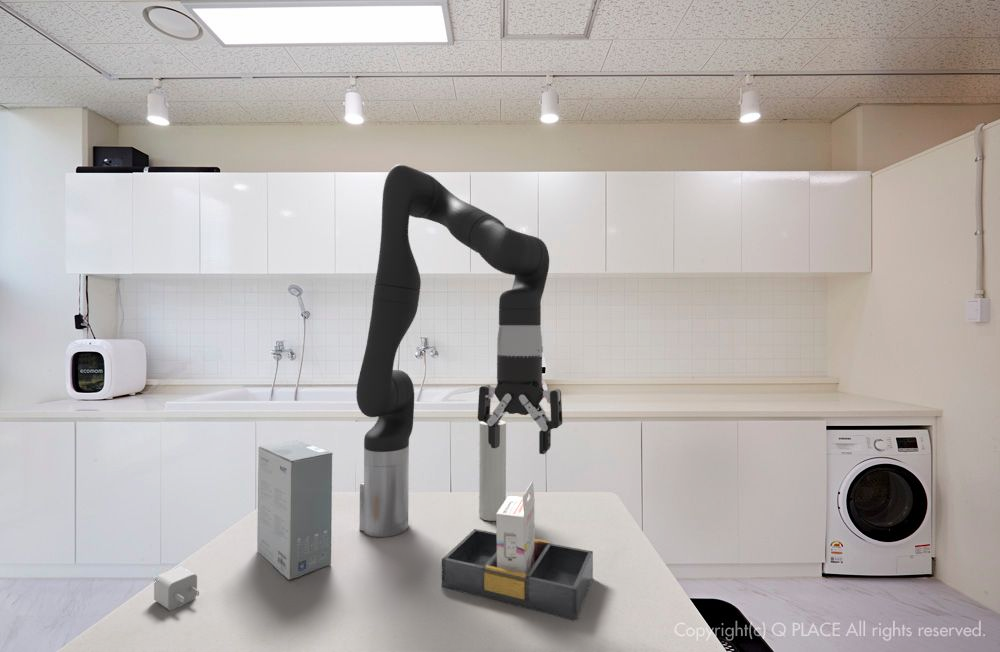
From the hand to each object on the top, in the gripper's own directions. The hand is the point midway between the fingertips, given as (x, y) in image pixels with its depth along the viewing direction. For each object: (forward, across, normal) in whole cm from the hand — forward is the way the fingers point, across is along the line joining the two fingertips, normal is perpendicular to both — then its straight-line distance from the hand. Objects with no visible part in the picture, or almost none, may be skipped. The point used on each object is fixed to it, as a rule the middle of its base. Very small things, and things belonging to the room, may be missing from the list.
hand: (518, 450), depth 75 cm
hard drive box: (+22, -41, -8) cm, 47 cm away
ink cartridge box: (+21, 0, 0) cm, 21 cm away
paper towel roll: (+22, -15, +24) cm, 36 cm away
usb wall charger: (+22, -46, -26) cm, 57 cm away
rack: (+22, 0, 0) cm, 22 cm away
